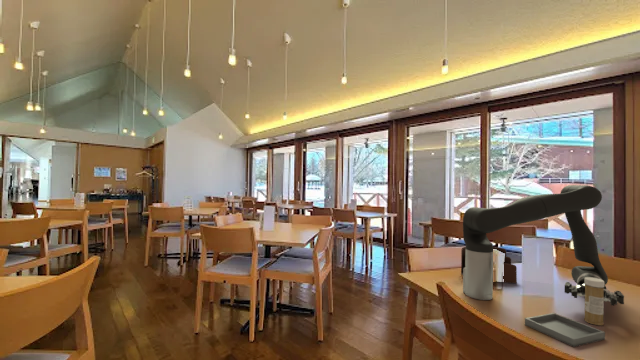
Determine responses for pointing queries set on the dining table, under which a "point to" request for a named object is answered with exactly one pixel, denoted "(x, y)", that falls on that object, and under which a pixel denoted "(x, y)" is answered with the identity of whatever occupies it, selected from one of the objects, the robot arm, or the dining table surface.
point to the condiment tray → (565, 329)
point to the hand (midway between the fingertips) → (593, 298)
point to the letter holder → (509, 268)
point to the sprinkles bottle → (594, 300)
